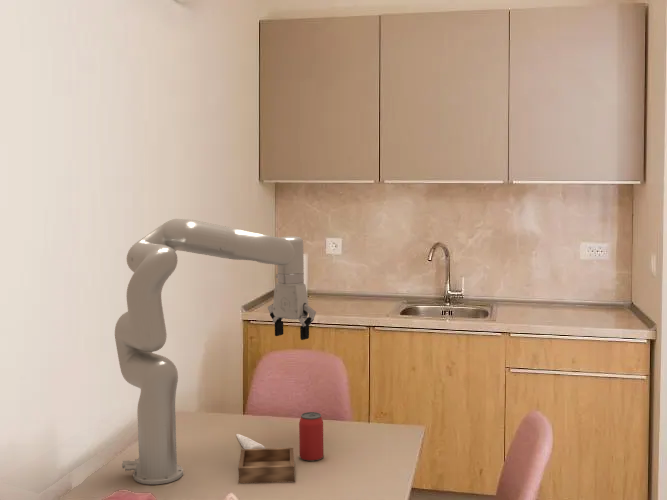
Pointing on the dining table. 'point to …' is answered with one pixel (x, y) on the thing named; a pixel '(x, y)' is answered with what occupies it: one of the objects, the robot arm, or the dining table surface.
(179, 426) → the dining table surface
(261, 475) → the crate
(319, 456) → the beer can
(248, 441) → the unicorn horn
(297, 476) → the dining table surface
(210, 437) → the dining table surface
